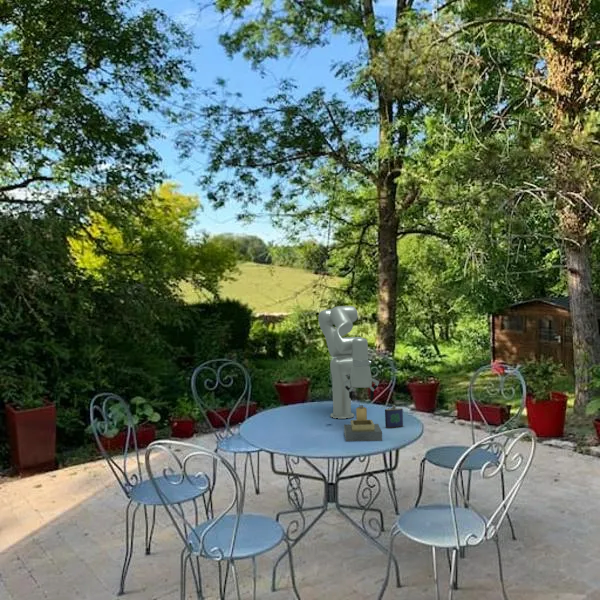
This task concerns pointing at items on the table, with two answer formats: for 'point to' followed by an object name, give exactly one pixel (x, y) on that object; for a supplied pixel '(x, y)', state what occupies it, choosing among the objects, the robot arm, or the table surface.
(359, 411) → the cylinder
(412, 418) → the table surface
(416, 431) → the table surface
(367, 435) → the grey square socket base
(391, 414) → the wallet
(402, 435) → the table surface
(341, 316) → the robot arm
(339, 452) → the table surface
